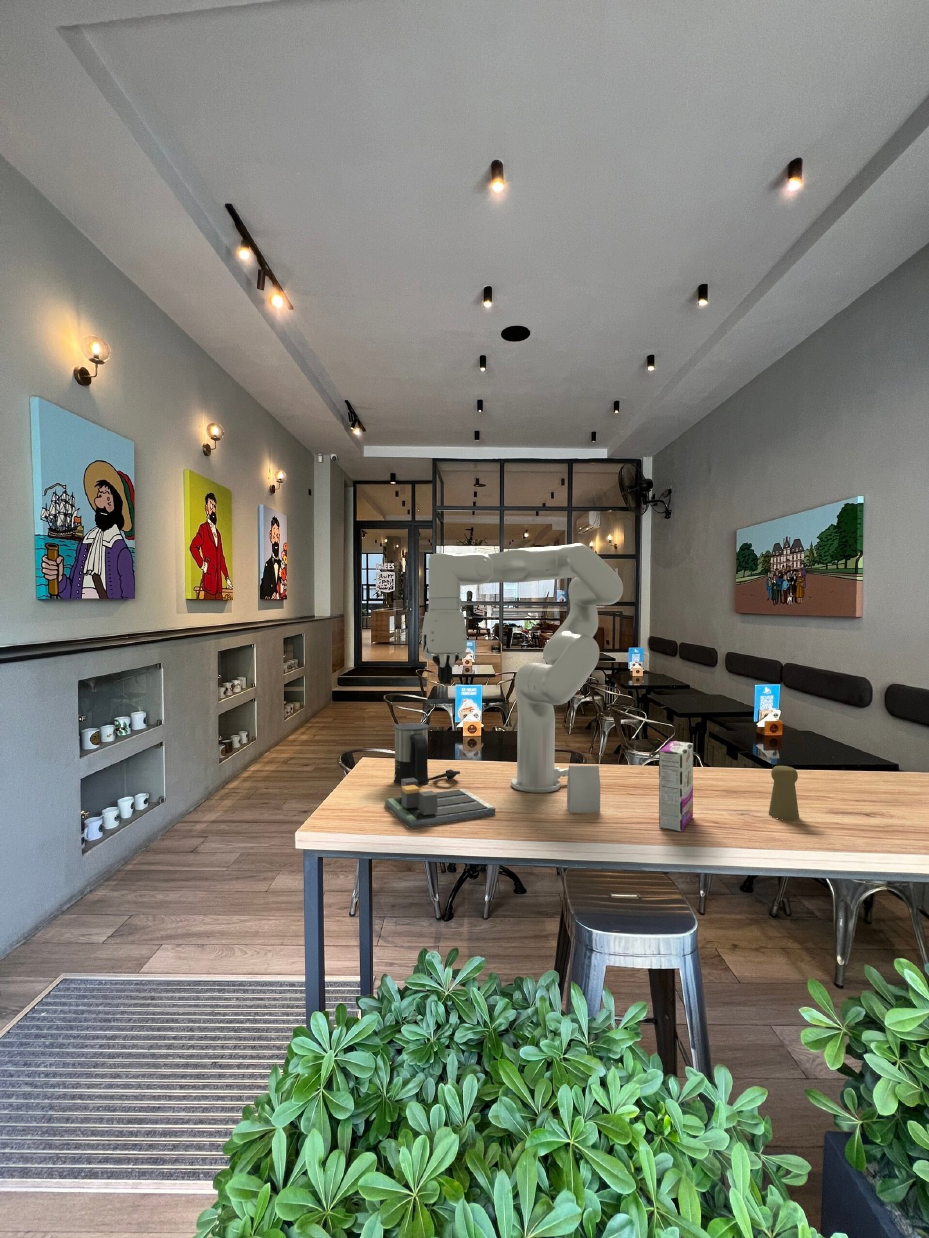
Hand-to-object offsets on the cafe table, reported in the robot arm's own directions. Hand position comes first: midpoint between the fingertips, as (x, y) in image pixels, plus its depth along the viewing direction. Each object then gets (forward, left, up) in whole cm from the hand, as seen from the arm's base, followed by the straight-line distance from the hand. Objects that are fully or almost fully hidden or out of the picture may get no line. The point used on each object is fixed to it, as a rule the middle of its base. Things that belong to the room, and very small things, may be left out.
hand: (445, 683), depth 143 cm
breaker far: (+9, +1, -26) cm, 27 cm away
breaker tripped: (+11, +7, -26) cm, 29 cm away
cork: (-64, +42, -28) cm, 81 cm away
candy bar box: (-39, +35, -28) cm, 59 cm away
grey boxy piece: (-26, +20, -28) cm, 43 cm away
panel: (+4, +7, -28) cm, 29 cm away
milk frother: (-2, -16, -28) cm, 32 cm away
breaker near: (+9, +12, -26) cm, 30 cm away
